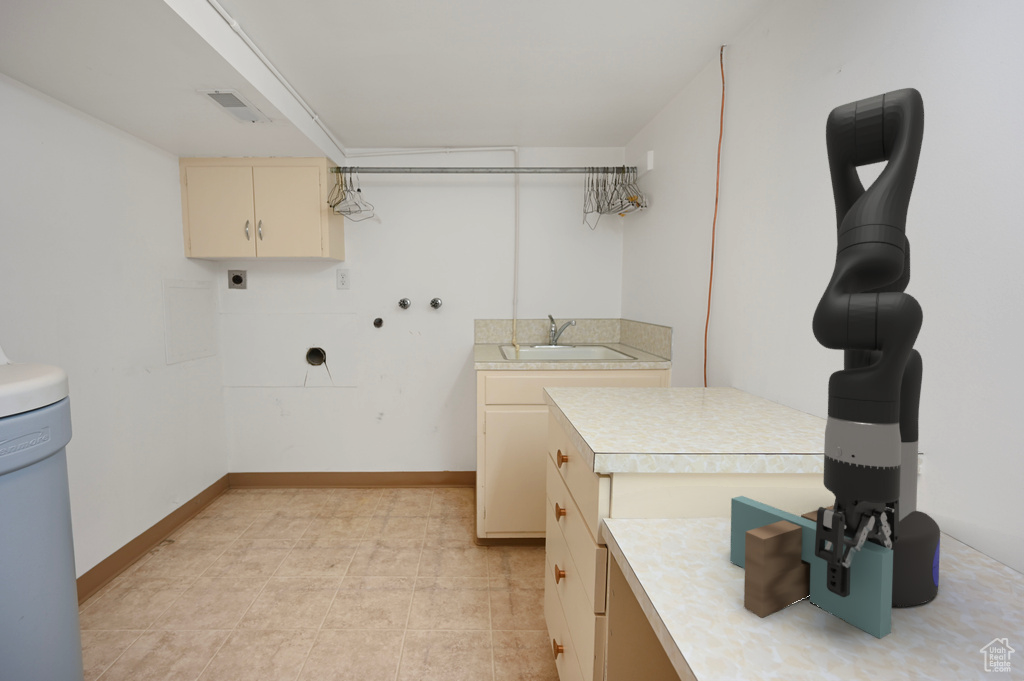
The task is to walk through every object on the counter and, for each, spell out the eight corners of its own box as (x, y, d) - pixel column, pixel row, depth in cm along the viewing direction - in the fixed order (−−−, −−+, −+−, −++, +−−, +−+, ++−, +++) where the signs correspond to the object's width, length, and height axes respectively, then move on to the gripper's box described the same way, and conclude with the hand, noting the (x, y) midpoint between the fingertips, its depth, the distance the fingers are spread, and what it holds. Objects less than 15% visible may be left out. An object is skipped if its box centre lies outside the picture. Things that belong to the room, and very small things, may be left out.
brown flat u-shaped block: (831, 571, 69) (833, 505, 69) (849, 579, 67) (851, 511, 67) (744, 607, 60) (745, 531, 60) (762, 618, 58) (763, 539, 58)
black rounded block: (918, 621, 57) (920, 547, 57) (873, 603, 61) (875, 533, 61) (950, 580, 67) (952, 516, 67) (910, 567, 71) (911, 506, 70)
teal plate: (740, 558, 73) (742, 495, 73) (890, 632, 55) (893, 550, 55) (730, 561, 72) (731, 498, 72) (880, 638, 54) (882, 554, 54)
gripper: (864, 471, 50) (860, 618, 51) (926, 455, 57) (922, 585, 57) (795, 454, 57) (792, 584, 57) (858, 442, 63) (854, 558, 64)
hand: (857, 584), depth 57 cm, fingers open, 8 cm apart
